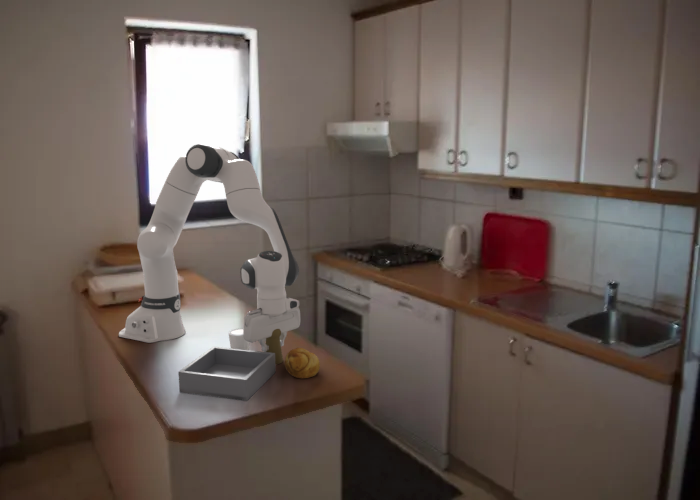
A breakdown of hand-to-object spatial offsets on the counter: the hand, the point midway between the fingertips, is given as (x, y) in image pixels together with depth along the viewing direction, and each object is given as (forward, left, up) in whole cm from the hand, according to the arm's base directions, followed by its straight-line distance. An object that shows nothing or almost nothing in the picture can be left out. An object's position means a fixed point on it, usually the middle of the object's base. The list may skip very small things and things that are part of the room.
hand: (273, 348), depth 192 cm
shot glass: (-13, +4, -4) cm, 14 cm away
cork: (0, 0, -4) cm, 4 cm away
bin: (-6, -18, -4) cm, 19 cm away
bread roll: (+11, -6, -4) cm, 13 cm away
